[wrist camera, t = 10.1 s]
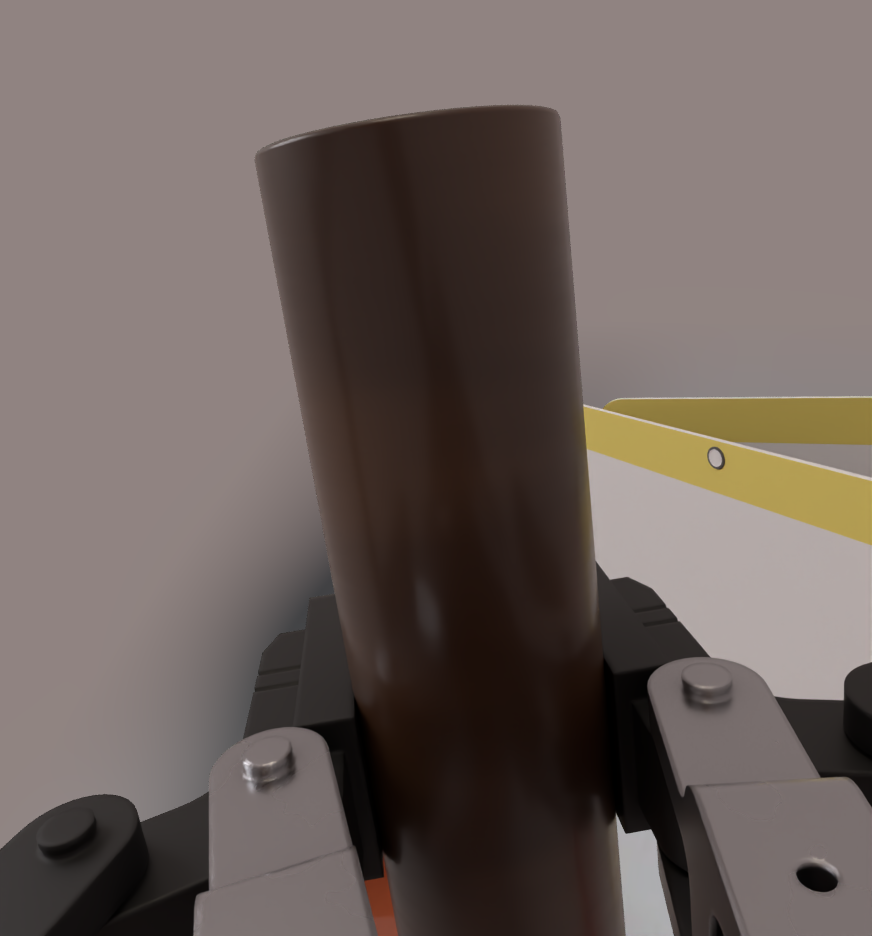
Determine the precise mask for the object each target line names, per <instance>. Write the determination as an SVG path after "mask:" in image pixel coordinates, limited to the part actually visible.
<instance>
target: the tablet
mask: <svg viewBox="0 0 872 936" xmlns="http://www.w3.org/2000/svg"><path fill="white" fill-rule="evenodd" d="M583 409H584V421H585V434H586V446H587V459H588V471H589V484H590V496H591V509H592V521H593V534H594V546H595V559H596V562H597V563H598V564H599V566H600V567H601V568H602V570H603V571H604V572H605V574H606V575H607V576H608V578H609V579H610V580H611V579H617V578H623V577H629V578H631V579H633V580H636V581H638V582H640V583H642V584H644V585H646V586H648V587H650V588H652V589H653V590H654V591H655V592H656V594H657V595H658V596H659V597H660V598H661V599H662V601H663V602H664V603H665V604H666V608H669V609H670V610H671V611H672V612H673V614H674V615H675V616H676V617H677V620H678V621H680V622H681V623H682V624H683V625H684V626H685V628H686V629H687V630H688V631H689V632H690V634H691V635H692V636H693V637H694V638H695V639H696V641H697V642H698V643H699V644H700V645H701V647H702V648H703V649H704V650H705V651H706V652H707V654H708V655H709V656H710V657H711V658H719V659H725V660H729V661H733V662H736V663H739V664H742V665H744V666H746V667H748V668H750V669H752V670H753V671H755V672H756V673H758V674H759V675H760V676H761V677H762V678H763V679H764V681H765V682H766V683H767V685H768V687H769V688H770V690H771V692H772V694H773V695H774V696H776V697H783V698H793V699H818V700H844V681H845V678H846V676H847V675H848V674H849V672H850V671H852V670H853V669H855V668H856V667H859V666H861V665H863V664H867V663H870V662H872V396H843V397H842V396H840V397H709V398H706V397H705V398H703V397H702V398H701V397H700V398H619V399H615V400H613V401H611V402H609V403H608V404H607V405H606V406H605V407H604V408H603V409H600V408H596V407H592V406H588V405H584V404H583Z"/></svg>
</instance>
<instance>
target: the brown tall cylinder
mask: <svg viewBox="0 0 872 936" xmlns="http://www.w3.org/2000/svg"><path fill="white" fill-rule="evenodd" d="M255 164H256V170H257V175H258V181H259V186H260V191H261V197H262V202H263V207H264V213H265V218H266V224H267V229H268V235H269V240H270V245H271V251H272V257H273V262H274V267H275V273H276V278H277V284H278V289H279V294H280V300H281V305H282V310H283V316H284V321H285V327H286V332H287V338H288V343H289V349H290V354H291V359H292V365H293V370H294V376H295V381H296V386H297V392H298V397H299V402H300V408H301V414H302V419H303V424H304V430H305V435H306V440H307V446H308V451H309V457H310V462H311V468H312V473H313V478H314V484H315V489H316V495H317V500H318V505H319V511H320V516H321V522H322V527H323V532H324V538H325V543H326V549H327V554H328V560H329V565H330V571H331V576H332V581H333V587H334V592H335V598H336V603H337V608H338V614H339V619H340V625H341V630H342V635H343V641H344V646H345V652H346V657H347V663H348V668H349V673H350V679H351V684H352V690H353V693H354V697H355V702H356V707H357V713H358V718H359V724H360V729H361V735H362V740H363V745H364V751H365V756H366V762H367V767H368V773H369V778H370V783H371V789H372V794H373V800H374V805H375V811H376V816H377V821H378V827H379V832H380V838H381V843H382V848H383V857H384V863H385V868H386V874H387V879H388V885H389V890H390V895H391V901H392V906H393V912H394V917H395V922H396V928H397V933H398V936H626V935H625V922H624V910H623V897H622V885H621V872H620V860H619V847H618V834H617V822H616V809H615V797H614V784H613V772H612V759H611V747H610V734H609V722H608V709H607V697H606V684H605V672H604V659H603V647H602V634H601V622H600V609H599V597H598V584H597V572H596V559H595V546H594V534H593V521H592V509H591V496H590V484H589V471H588V459H587V446H586V434H585V421H584V409H583V396H582V384H581V372H580V359H579V346H578V334H577V321H576V309H575V297H574V285H573V271H572V259H571V247H570V234H569V222H568V210H567V209H568V208H567V196H566V183H565V171H564V158H563V146H562V134H561V121H560V116H559V114H558V112H557V111H556V110H554V109H551V108H547V107H542V106H532V105H493V106H476V107H463V108H453V109H444V110H443V109H442V110H434V111H425V112H417V113H410V114H402V115H395V116H389V117H383V118H377V119H370V120H365V121H359V122H353V123H348V124H343V125H338V126H333V127H328V128H324V129H319V130H315V131H311V132H307V133H303V134H299V135H295V136H292V137H289V138H286V139H283V140H280V141H277V142H274V143H272V144H270V145H268V146H266V147H264V148H262V149H261V150H259V151H258V152H257V153H256V155H255Z"/></svg>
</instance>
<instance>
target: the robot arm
mask: <svg viewBox="0 0 872 936" xmlns="http://www.w3.org/2000/svg"><path fill="white" fill-rule="evenodd" d="M596 572H597V584H598V597H599V609H600V622H601V634H602V647H603V659H604V672H605V684H606V697H607V709H608V722H609V734H610V747H611V759H612V772H613V784H614V797H615V809H616V814H617V816H618V818H619V820H620V822H621V825H622V827H623V829H624V831H625V833H626V834H627V833H633V832H638V831H644V830H649V829H651V830H652V832H653V834H654V836H655V838H656V840H657V851H658V867H659V876H660V880H661V884H662V888H663V892H664V896H665V900H666V905H667V909H668V913H669V917H670V921H671V925H672V929H673V934H674V936H872V662H870V663H867V664H863V665H861V666H859V667H856V668H855V669H853V670H852V671H850V672H849V674H848V675H847V676H846V678H845V681H844V700H818V699H793V698H783V697H776V696H774V695H773V694H772V692H771V690H770V688H769V687H768V685H767V683H766V682H765V681H764V679H763V678H762V677H761V676H760V675H759V674H758V673H756V672H755V671H753V670H752V669H750V668H748V667H746V666H744V665H742V664H739V663H736V662H733V661H729V660H725V659H719V658H711V657H710V656H709V655H708V654H707V652H706V651H705V650H704V649H703V648H702V647H701V645H700V644H699V643H698V642H697V641H696V639H695V638H694V637H693V636H692V635H691V634H690V632H689V631H688V630H687V629H686V628H685V626H684V625H683V624H682V623H681V622H680V621H678V620H677V617H676V616H675V615H674V614H673V612H672V611H671V610H670V609H669V608H666V604H665V603H664V602H663V601H662V599H661V598H660V597H659V596H658V595H657V594H656V592H655V591H654V590H653V589H652V588H650V587H648V586H646V585H644V584H642V583H640V582H638V581H636V580H633V579H631V578H629V577H623V578H617V579H611V580H610V579H609V578H608V576H607V575H606V574H605V572H604V571H603V570H602V568H601V567H600V566H599V564H598V563H597V562H596ZM258 674H259V676H257V680H256V684H255V692H254V693H253V697H252V702H251V707H250V711H249V715H248V719H247V724H246V728H245V733H244V737H243V740H241V741H240V742H238V743H236V744H235V745H233V746H232V747H230V748H229V749H228V750H227V751H226V752H224V753H223V754H222V755H221V756H220V758H219V759H218V760H217V761H216V763H215V764H214V766H213V767H212V770H211V773H210V776H209V792H207V793H206V794H204V795H203V796H201V797H199V798H197V799H195V800H194V801H192V802H190V803H187V804H185V805H183V806H181V807H178V808H176V809H173V810H171V811H168V812H165V813H163V814H160V815H158V816H155V817H153V818H150V819H148V820H145V821H143V822H140V820H139V816H138V813H137V810H136V808H135V806H134V804H132V802H130V801H129V800H128V799H126V798H123V797H121V796H116V795H107V794H103V795H93V796H88V797H83V798H80V799H76V800H72V801H70V802H67V803H65V804H62V805H60V806H58V807H56V808H54V809H52V810H50V811H48V812H46V813H44V814H43V815H41V816H39V817H38V818H36V819H35V820H34V821H32V822H31V823H29V824H28V825H27V826H26V827H25V828H24V829H22V830H21V831H20V832H19V833H18V834H17V835H16V836H14V837H13V838H12V839H11V840H10V841H9V842H8V843H7V844H6V845H5V846H4V847H3V848H1V849H0V936H378V934H377V930H376V926H375V922H374V918H373V914H372V910H371V906H370V902H369V898H368V894H367V890H366V886H365V882H364V881H367V880H372V879H377V878H383V877H384V867H383V848H382V843H381V838H380V832H379V827H378V821H377V816H376V811H375V805H374V800H373V794H372V789H371V783H370V778H369V773H368V767H367V762H366V756H365V751H364V745H363V740H362V735H361V729H360V724H359V718H358V713H357V707H356V702H355V697H354V693H353V690H352V684H351V679H350V673H349V668H348V663H347V657H346V652H345V646H344V641H343V635H342V630H341V625H340V619H339V614H338V608H337V603H336V598H335V594H331V595H324V596H318V597H312V598H310V600H309V606H308V614H307V622H306V629H305V630H299V631H293V632H286V633H281V634H279V635H278V636H277V637H276V638H275V640H274V641H273V642H272V643H271V644H270V645H269V646H268V647H267V648H266V649H265V651H264V652H263V653H262V658H261V662H260V666H259V671H258Z"/></svg>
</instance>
